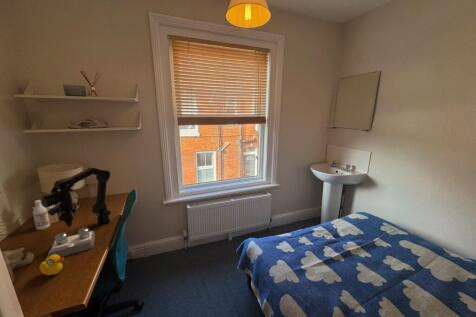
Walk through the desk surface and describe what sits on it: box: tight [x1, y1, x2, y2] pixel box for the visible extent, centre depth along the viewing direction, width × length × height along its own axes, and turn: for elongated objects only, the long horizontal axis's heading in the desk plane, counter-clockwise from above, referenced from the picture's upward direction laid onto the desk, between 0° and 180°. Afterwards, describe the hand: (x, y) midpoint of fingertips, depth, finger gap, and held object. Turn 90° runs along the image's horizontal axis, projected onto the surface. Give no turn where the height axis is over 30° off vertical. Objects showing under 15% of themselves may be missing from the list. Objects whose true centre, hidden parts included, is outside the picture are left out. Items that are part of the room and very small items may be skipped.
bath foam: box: [32, 199, 51, 231], centre depth 136 cm, size 7×7×20 cm
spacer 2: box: [77, 227, 90, 240], centre depth 122 cm, size 5×5×5 cm
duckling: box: [39, 254, 65, 276], centre depth 97 cm, size 11×5×10 cm, turn 93°
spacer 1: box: [54, 231, 68, 245], centre depth 116 cm, size 5×5×5 cm
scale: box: [46, 230, 96, 258], centre depth 118 cm, size 20×16×5 cm
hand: (70, 223), depth 123 cm, fingers open, 9 cm apart
